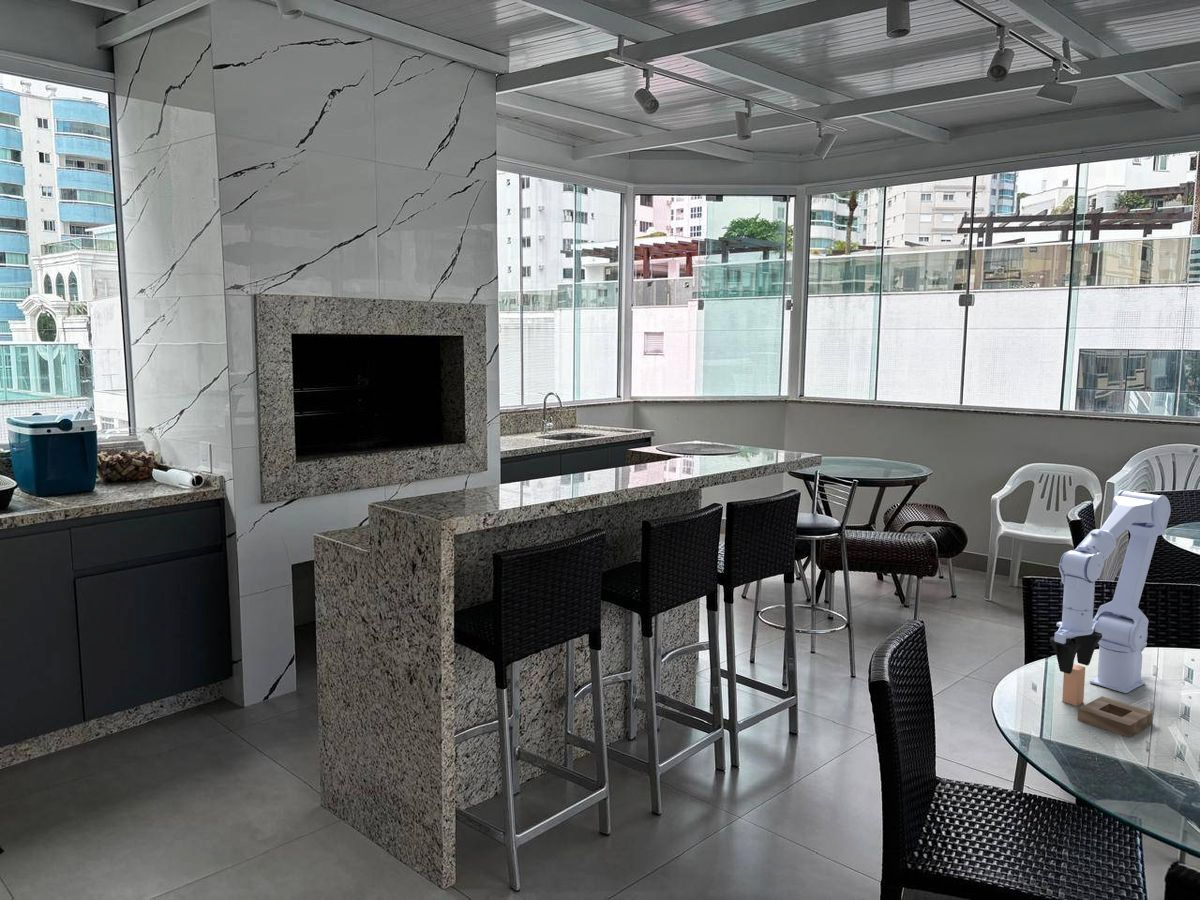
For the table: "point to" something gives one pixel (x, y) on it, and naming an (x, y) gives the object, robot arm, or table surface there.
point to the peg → (1074, 685)
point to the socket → (1115, 716)
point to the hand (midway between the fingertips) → (1074, 668)
